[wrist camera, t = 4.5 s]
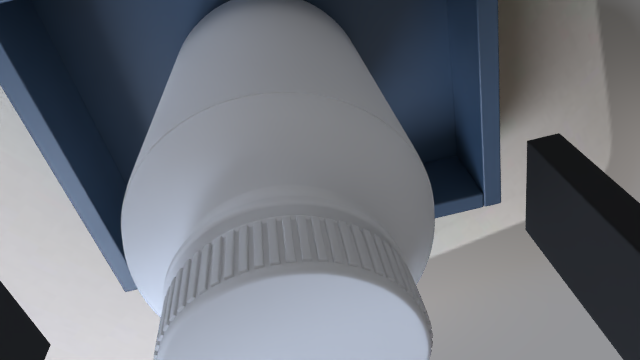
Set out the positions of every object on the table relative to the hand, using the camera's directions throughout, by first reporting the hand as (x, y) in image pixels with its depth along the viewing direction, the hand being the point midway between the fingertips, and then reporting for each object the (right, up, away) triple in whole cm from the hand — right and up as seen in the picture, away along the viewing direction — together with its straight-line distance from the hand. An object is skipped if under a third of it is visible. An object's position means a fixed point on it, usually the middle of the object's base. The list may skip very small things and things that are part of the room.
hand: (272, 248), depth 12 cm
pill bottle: (-1, +6, +10) cm, 12 cm away
